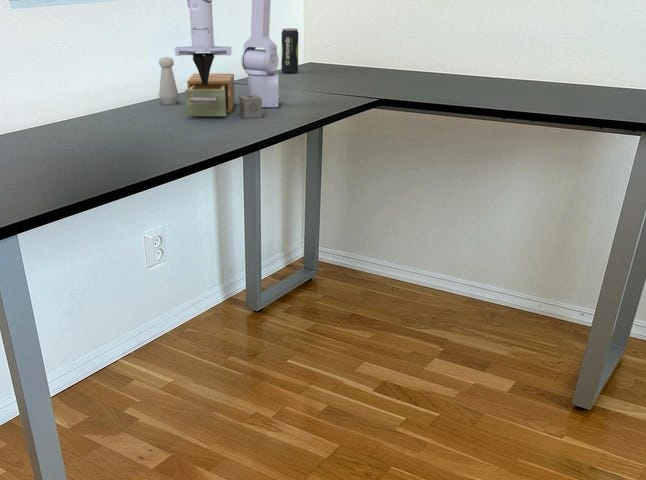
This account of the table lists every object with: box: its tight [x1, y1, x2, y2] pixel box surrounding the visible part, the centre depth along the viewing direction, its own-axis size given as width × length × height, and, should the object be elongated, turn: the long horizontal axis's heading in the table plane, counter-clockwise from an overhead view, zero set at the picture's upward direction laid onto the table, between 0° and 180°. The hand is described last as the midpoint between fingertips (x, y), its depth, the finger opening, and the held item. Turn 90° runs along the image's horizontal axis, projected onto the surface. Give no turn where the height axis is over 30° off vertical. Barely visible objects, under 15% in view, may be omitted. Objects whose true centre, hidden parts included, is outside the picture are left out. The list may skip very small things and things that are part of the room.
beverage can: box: [281, 27, 299, 75], centre depth 262 cm, size 6×6×15 cm
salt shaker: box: [158, 56, 179, 106], centre depth 211 cm, size 6×6×13 cm
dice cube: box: [238, 95, 263, 119], centre depth 197 cm, size 5×5×5 cm
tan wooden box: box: [186, 73, 236, 114], centre depth 206 cm, size 14×12×9 cm
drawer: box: [184, 84, 227, 117], centre depth 195 cm, size 18×11×7 cm, turn 178°
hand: (205, 84), depth 187 cm, fingers closed
